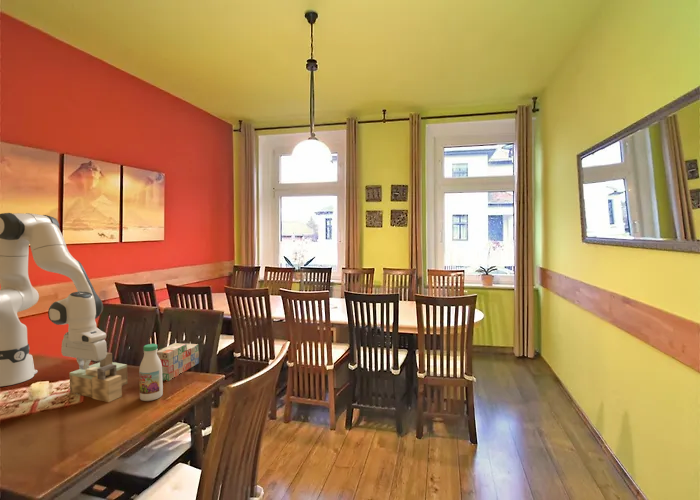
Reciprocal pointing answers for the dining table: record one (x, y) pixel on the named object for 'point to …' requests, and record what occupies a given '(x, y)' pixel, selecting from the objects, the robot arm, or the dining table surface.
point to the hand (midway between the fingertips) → (84, 369)
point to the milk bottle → (150, 374)
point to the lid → (101, 364)
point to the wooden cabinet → (101, 384)
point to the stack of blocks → (177, 359)
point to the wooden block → (95, 371)
